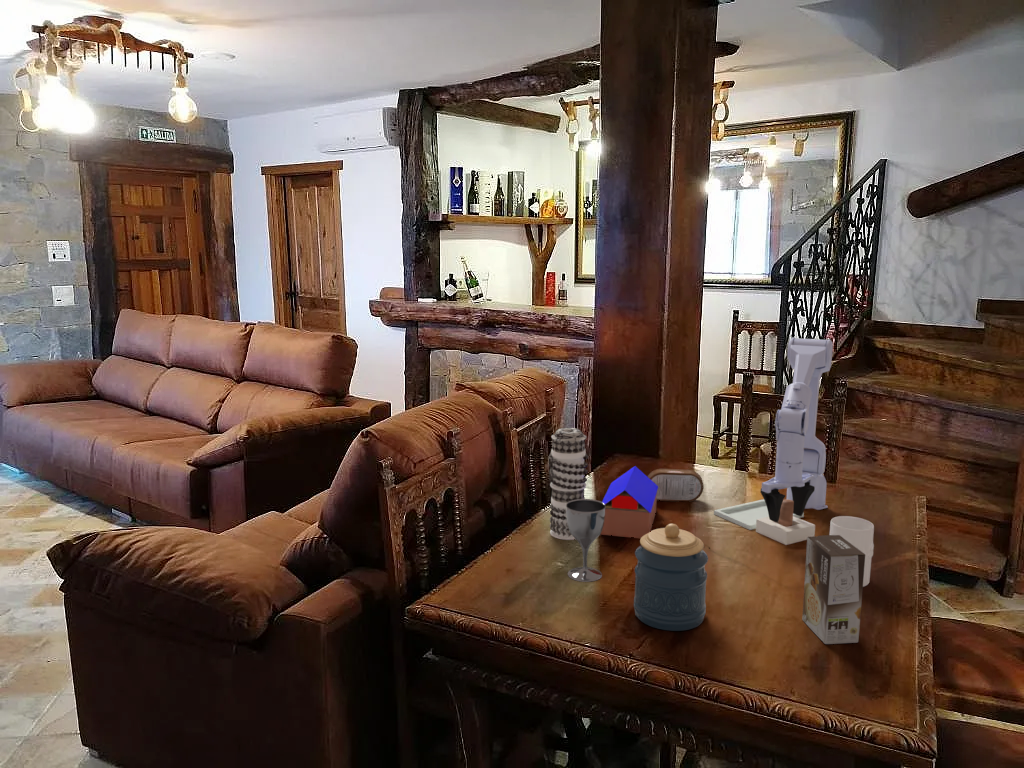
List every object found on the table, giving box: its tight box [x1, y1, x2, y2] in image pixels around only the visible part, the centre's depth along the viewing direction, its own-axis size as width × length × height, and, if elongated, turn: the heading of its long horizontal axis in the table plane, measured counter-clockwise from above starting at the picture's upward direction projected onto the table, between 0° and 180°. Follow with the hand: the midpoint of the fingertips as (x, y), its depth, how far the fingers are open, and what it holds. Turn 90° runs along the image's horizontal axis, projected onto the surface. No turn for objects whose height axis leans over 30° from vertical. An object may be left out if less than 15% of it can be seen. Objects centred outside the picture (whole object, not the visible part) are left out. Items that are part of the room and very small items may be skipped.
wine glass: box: [566, 498, 605, 583], centre depth 156 cm, size 8×8×15 cm
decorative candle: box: [548, 427, 589, 541], centre depth 177 cm, size 9×9×25 cm
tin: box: [646, 468, 704, 503], centre depth 201 cm, size 15×3×8 cm, turn 84°
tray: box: [713, 498, 805, 531], centre depth 188 cm, size 18×12×2 cm, turn 118°
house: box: [600, 465, 658, 539], centre depth 185 cm, size 12×20×12 cm, turn 164°
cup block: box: [755, 516, 816, 546], centre depth 175 cm, size 9×9×4 cm
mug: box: [829, 515, 875, 588], centre depth 155 cm, size 8×12×12 cm
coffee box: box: [802, 534, 865, 645], centre depth 132 cm, size 9×6×16 cm
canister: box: [633, 523, 709, 632], centre depth 138 cm, size 13×13×18 cm
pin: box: [779, 498, 794, 527], centre depth 175 cm, size 3×3×8 cm
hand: (785, 517), depth 174 cm, fingers open, 7 cm apart
